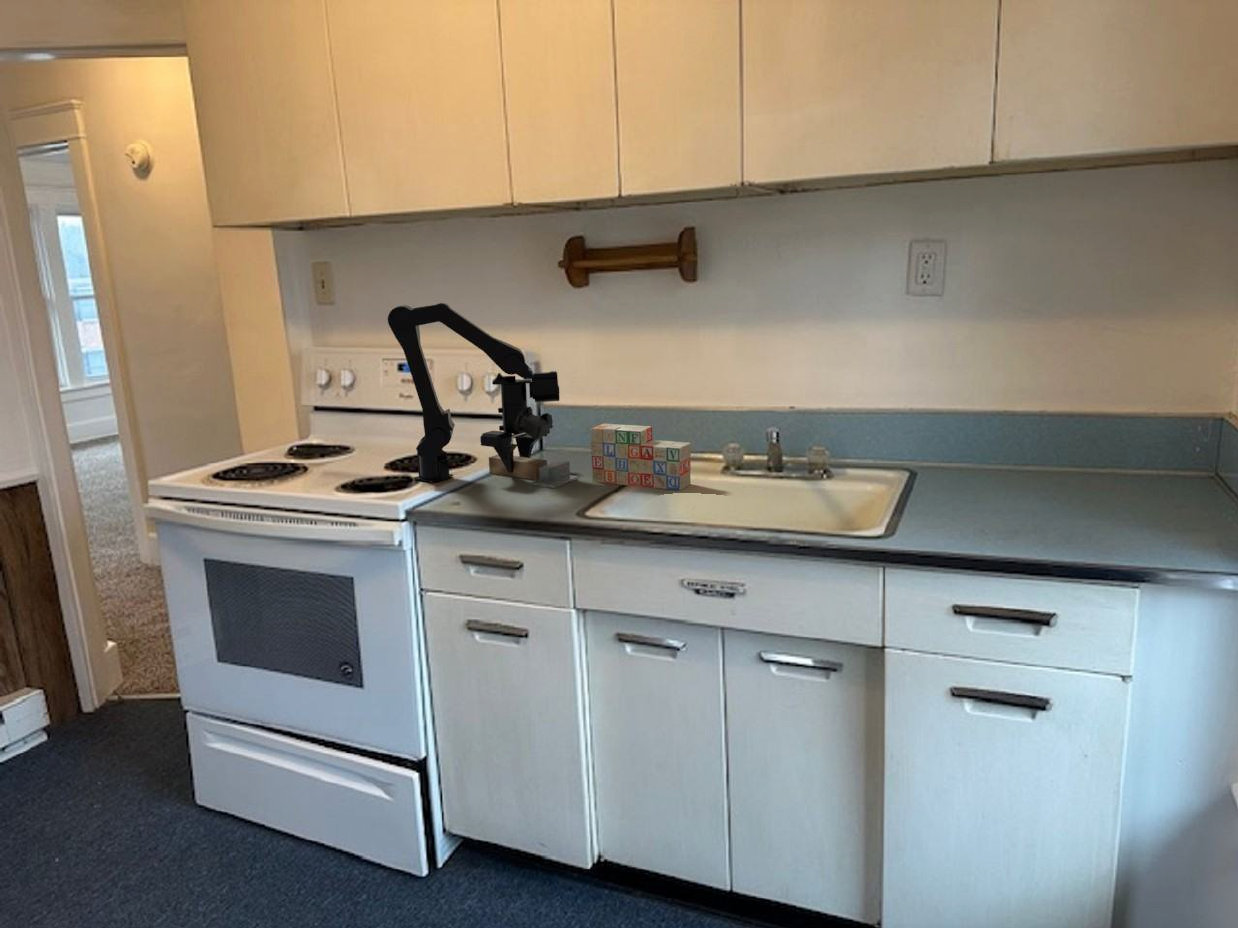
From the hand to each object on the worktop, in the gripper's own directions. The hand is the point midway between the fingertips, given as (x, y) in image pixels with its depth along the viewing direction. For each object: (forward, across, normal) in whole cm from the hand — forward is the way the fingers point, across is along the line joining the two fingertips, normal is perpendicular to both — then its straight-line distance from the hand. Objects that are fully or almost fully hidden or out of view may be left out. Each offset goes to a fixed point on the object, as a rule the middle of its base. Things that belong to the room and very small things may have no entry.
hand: (517, 469), depth 200 cm
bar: (+1, 0, 0) cm, 1 cm away
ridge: (+1, -2, -12) cm, 12 cm away
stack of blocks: (+1, +6, -29) cm, 30 cm away
